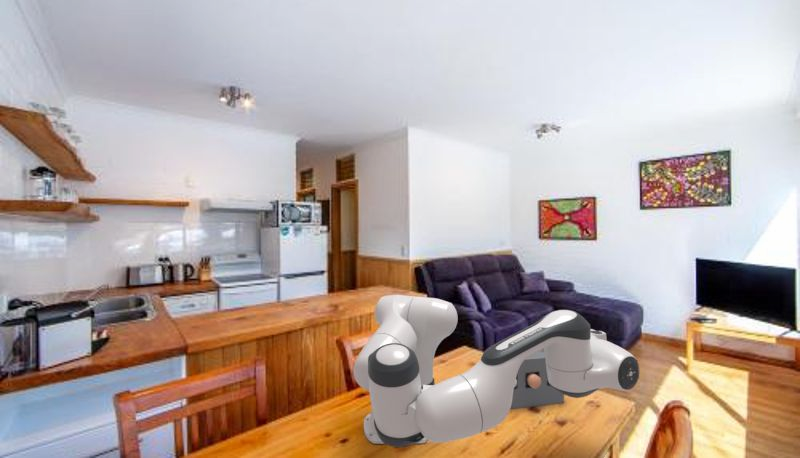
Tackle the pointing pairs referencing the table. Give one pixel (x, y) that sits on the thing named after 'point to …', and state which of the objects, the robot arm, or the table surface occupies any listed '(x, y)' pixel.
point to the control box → (529, 395)
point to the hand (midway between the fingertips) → (543, 330)
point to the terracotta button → (533, 381)
